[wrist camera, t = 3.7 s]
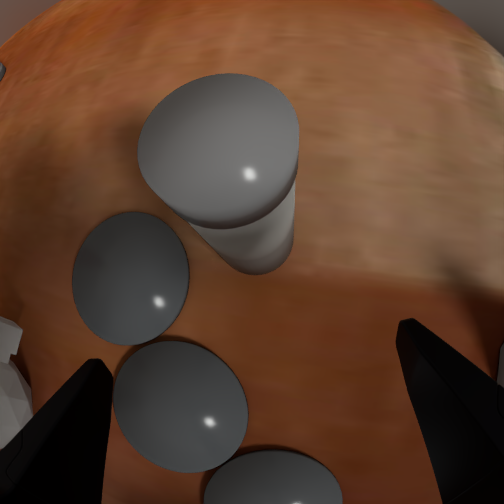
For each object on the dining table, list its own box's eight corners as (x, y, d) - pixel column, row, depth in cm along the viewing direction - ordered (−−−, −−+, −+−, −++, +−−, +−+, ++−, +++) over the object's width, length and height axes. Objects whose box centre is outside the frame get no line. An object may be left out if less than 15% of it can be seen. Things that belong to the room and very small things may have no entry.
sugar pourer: (263, 292, 22) (226, 245, 9) (202, 246, 23) (109, 158, 10) (310, 229, 22) (331, 114, 10) (248, 187, 23) (207, 57, 11)
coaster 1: (136, 372, 21) (133, 373, 21) (57, 288, 23) (54, 287, 23) (217, 264, 22) (216, 262, 22) (125, 191, 25) (122, 189, 24)
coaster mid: (194, 492, 19) (192, 495, 18) (96, 407, 21) (92, 408, 20) (278, 401, 20) (278, 403, 19) (164, 311, 22) (161, 311, 22)
